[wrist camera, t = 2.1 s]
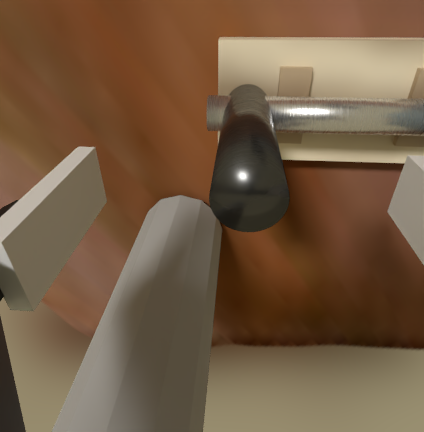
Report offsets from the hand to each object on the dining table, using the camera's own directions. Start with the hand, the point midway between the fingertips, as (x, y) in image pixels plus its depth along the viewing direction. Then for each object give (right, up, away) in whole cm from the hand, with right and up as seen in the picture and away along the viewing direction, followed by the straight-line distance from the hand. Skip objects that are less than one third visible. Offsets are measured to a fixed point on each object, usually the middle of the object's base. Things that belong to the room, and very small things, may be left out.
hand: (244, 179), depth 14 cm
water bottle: (-5, -3, +17) cm, 18 cm away
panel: (+7, +7, +9) cm, 13 cm away
